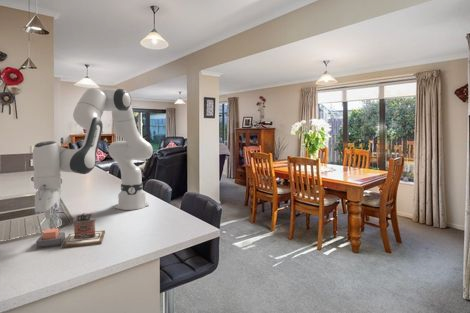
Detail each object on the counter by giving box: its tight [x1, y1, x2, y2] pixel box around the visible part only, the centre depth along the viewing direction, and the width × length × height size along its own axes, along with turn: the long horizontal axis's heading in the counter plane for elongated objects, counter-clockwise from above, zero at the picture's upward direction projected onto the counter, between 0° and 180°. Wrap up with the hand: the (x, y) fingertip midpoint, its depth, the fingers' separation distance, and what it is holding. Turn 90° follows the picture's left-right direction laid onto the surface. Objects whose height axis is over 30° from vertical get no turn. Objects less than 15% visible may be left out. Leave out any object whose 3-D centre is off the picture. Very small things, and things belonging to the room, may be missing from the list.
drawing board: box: [61, 230, 106, 249], centre depth 117 cm, size 13×14×1 cm
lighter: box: [72, 212, 96, 239], centre depth 117 cm, size 8×3×10 cm, turn 105°
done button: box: [42, 227, 60, 239], centre depth 113 cm, size 4×4×3 cm
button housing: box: [35, 231, 66, 250], centre depth 113 cm, size 8×8×3 cm
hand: (49, 217), depth 112 cm, fingers closed
